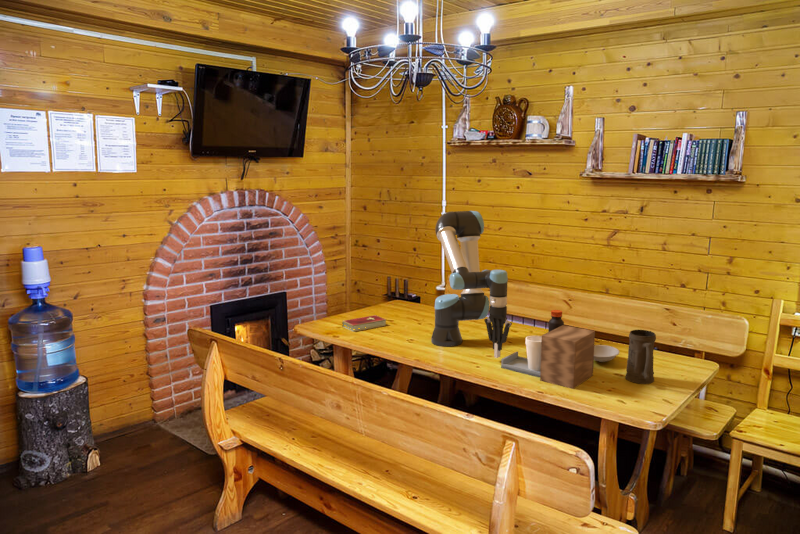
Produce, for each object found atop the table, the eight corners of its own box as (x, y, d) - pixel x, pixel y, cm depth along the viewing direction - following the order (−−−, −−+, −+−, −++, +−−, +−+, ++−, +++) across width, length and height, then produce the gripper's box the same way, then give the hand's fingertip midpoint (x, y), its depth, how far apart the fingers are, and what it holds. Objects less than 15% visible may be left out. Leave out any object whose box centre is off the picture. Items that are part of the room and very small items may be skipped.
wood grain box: (540, 380, 234) (541, 335, 231) (561, 367, 248) (562, 325, 245) (573, 388, 225) (575, 341, 222) (592, 375, 239) (595, 331, 236)
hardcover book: (342, 327, 315) (342, 320, 314) (375, 321, 326) (375, 314, 326) (352, 332, 305) (352, 325, 304) (386, 326, 316) (386, 319, 316)
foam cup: (547, 372, 240) (548, 342, 238) (524, 371, 242) (525, 341, 239) (546, 365, 249) (547, 335, 247) (524, 363, 251) (525, 334, 248)
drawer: (501, 367, 249) (501, 358, 248) (516, 360, 259) (516, 351, 258) (543, 378, 236) (544, 369, 235) (558, 369, 246) (558, 360, 245)
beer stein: (619, 374, 240) (623, 328, 235) (644, 373, 241) (649, 327, 236) (637, 390, 225) (642, 342, 220) (664, 389, 226) (669, 341, 221)
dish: (612, 370, 245) (613, 359, 244) (579, 364, 252) (579, 353, 252) (623, 358, 259) (623, 348, 258) (590, 353, 267) (591, 342, 266)
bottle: (554, 356, 263) (556, 313, 260) (544, 352, 269) (545, 310, 266) (565, 353, 266) (567, 311, 263) (555, 349, 272) (557, 308, 269)
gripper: (480, 304, 255) (480, 356, 259) (506, 309, 246) (505, 362, 250) (490, 301, 260) (489, 351, 264) (515, 305, 252) (514, 357, 256)
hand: (497, 356), depth 257 cm, fingers closed
